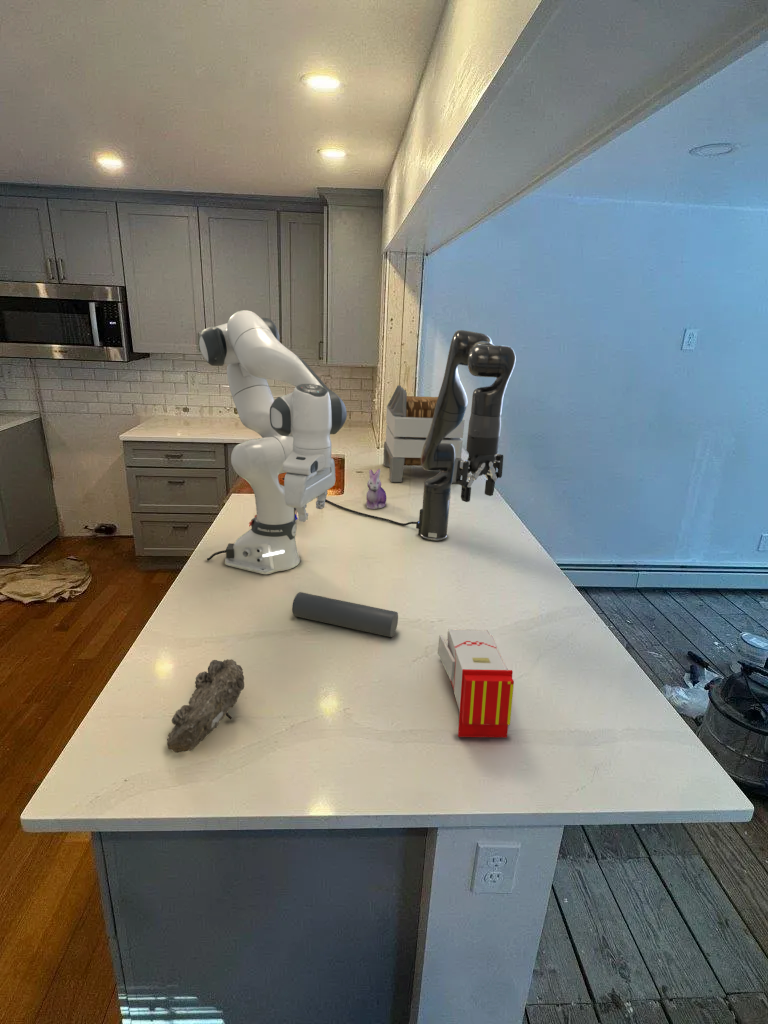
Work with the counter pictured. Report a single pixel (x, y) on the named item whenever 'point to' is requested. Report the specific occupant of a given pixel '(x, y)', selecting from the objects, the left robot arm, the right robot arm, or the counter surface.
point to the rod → (345, 614)
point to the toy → (478, 682)
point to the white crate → (412, 432)
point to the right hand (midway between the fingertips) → (477, 498)
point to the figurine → (375, 491)
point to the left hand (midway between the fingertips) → (312, 514)
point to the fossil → (206, 705)
